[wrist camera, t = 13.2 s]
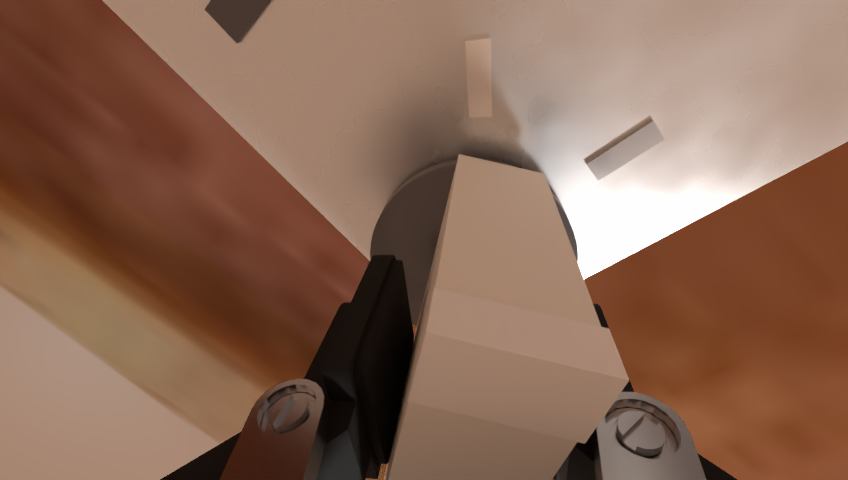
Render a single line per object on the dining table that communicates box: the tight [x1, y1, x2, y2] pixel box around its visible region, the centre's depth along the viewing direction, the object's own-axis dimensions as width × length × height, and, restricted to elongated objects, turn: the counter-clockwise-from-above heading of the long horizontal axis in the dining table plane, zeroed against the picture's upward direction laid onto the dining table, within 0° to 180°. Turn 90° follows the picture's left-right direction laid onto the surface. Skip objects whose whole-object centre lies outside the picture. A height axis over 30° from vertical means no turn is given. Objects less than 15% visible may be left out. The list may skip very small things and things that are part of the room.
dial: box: [370, 154, 629, 480], centre depth 9 cm, size 6×6×7 cm
